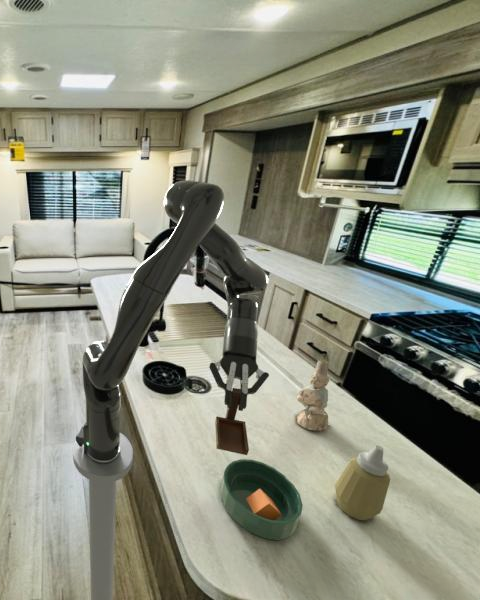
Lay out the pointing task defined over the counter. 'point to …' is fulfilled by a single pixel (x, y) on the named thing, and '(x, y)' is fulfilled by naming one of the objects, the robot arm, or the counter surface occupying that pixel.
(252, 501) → the block
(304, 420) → the figurine
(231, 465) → the green pet bowl
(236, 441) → the scoop
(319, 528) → the counter surface
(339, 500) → the squeeze bottle
